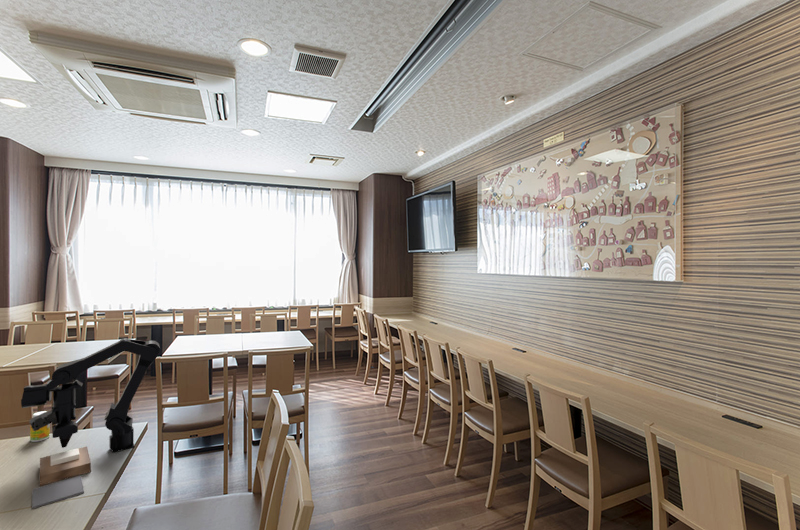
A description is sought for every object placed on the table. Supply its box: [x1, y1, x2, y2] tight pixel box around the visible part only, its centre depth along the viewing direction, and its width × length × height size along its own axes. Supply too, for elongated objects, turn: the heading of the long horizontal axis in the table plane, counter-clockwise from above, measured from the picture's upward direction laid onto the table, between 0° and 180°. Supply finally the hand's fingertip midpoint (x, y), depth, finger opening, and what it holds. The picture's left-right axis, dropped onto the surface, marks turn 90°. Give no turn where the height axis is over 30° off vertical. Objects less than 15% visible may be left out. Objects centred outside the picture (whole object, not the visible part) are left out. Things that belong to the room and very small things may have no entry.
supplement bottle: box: [29, 410, 51, 443], centre depth 144 cm, size 5×5×10 cm
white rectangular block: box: [49, 447, 80, 466], centre depth 125 cm, size 7×5×2 cm
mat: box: [31, 474, 85, 510], centre depth 113 cm, size 11×11×1 cm
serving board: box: [39, 446, 92, 487], centre depth 124 cm, size 12×14×3 cm
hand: (64, 447), depth 131 cm, fingers closed
